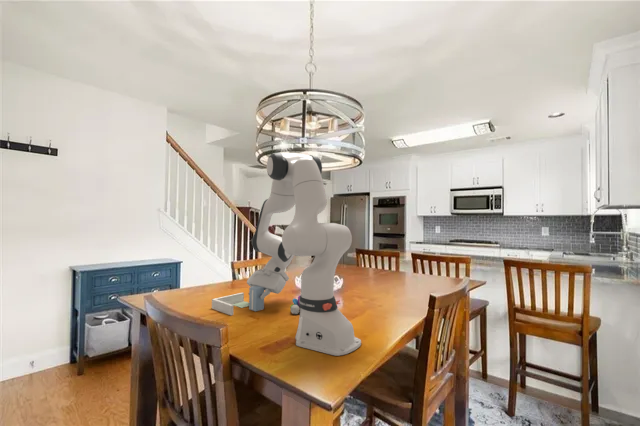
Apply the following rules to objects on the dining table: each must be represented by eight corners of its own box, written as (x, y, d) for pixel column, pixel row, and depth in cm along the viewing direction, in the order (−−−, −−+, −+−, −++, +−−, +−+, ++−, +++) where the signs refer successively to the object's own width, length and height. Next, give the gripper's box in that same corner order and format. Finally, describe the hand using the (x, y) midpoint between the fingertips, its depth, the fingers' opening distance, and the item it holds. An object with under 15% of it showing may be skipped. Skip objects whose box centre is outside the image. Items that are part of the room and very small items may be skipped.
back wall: (243, 301, 151) (243, 292, 151) (213, 308, 138) (213, 299, 138) (242, 300, 151) (242, 292, 151) (211, 308, 139) (211, 299, 139)
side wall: (233, 314, 131) (233, 305, 131) (230, 315, 130) (231, 305, 130) (215, 308, 139) (215, 299, 139) (213, 308, 138) (213, 299, 138)
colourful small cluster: (310, 316, 130) (310, 299, 130) (287, 315, 132) (287, 297, 132) (314, 310, 139) (315, 294, 139) (293, 309, 141) (293, 292, 141)
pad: (254, 304, 146) (254, 304, 146) (241, 308, 140) (241, 307, 140) (244, 301, 150) (244, 301, 150) (232, 304, 145) (232, 304, 145)
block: (263, 309, 139) (264, 287, 139) (255, 311, 136) (255, 289, 136) (257, 307, 142) (257, 285, 142) (248, 309, 139) (249, 287, 139)
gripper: (254, 264, 151) (236, 288, 144) (284, 270, 138) (266, 297, 130) (261, 272, 154) (244, 296, 147) (291, 278, 141) (274, 305, 134)
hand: (255, 297), depth 139 cm, fingers open, 6 cm apart
